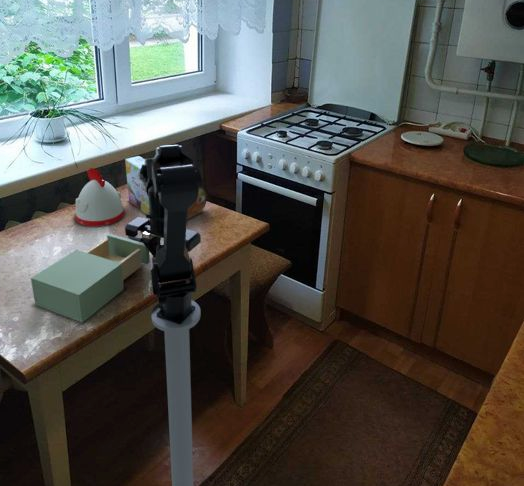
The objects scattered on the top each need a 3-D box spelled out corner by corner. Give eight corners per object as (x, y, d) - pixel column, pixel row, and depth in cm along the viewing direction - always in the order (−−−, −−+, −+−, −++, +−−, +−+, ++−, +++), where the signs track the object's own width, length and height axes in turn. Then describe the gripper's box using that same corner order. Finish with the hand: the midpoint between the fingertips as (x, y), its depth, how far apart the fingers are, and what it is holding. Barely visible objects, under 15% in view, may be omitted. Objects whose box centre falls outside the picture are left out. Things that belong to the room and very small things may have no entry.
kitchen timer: (107, 201, 160) (103, 158, 155) (132, 215, 152) (129, 170, 147) (67, 215, 151) (61, 169, 145) (92, 230, 142) (87, 182, 137)
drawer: (122, 243, 134) (120, 226, 132) (160, 254, 130) (159, 237, 128) (77, 274, 120) (74, 255, 118) (117, 288, 116) (116, 268, 114)
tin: (173, 226, 146) (172, 200, 143) (165, 223, 148) (164, 197, 145) (207, 209, 158) (207, 185, 155) (200, 206, 159) (200, 182, 156)
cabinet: (79, 274, 122) (76, 249, 119) (123, 289, 117) (121, 263, 114) (35, 304, 110) (30, 277, 108) (82, 322, 105) (78, 295, 103)
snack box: (127, 202, 161) (123, 158, 155) (142, 197, 164) (140, 155, 159) (160, 226, 146) (158, 179, 141) (177, 221, 150) (175, 175, 144)
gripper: (211, 202, 122) (212, 257, 128) (149, 188, 129) (152, 240, 135) (187, 221, 112) (189, 279, 118) (121, 204, 119) (125, 260, 125)
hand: (163, 263), depth 124 cm, fingers closed on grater, 2 cm apart
